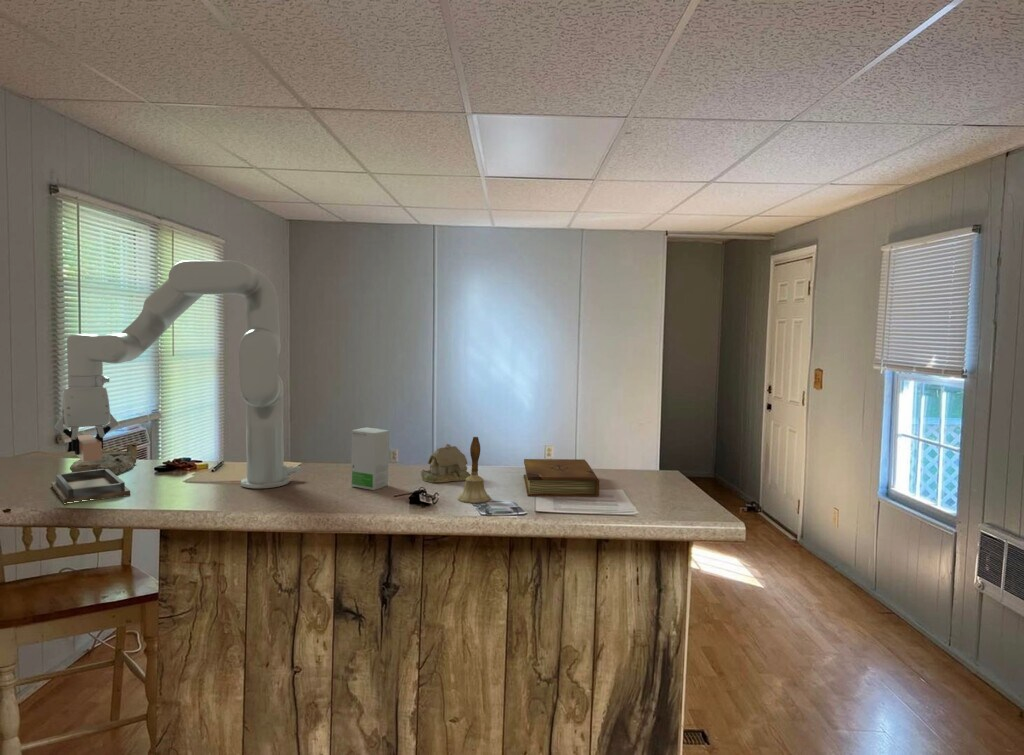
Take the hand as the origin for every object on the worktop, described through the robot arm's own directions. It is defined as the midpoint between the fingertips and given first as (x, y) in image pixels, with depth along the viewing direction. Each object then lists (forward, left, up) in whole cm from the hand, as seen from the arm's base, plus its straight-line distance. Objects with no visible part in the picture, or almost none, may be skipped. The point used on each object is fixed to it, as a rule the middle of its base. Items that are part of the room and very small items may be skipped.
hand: (87, 452), depth 171 cm
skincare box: (-59, +40, -10) cm, 72 cm away
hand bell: (-73, +68, -10) cm, 101 cm away
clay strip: (0, 0, -1) cm, 1 cm away
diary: (-100, +72, -11) cm, 124 cm away
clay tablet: (-9, -26, -11) cm, 29 cm away
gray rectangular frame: (0, 0, -10) cm, 10 cm away
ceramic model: (-81, +46, -10) cm, 93 cm away
